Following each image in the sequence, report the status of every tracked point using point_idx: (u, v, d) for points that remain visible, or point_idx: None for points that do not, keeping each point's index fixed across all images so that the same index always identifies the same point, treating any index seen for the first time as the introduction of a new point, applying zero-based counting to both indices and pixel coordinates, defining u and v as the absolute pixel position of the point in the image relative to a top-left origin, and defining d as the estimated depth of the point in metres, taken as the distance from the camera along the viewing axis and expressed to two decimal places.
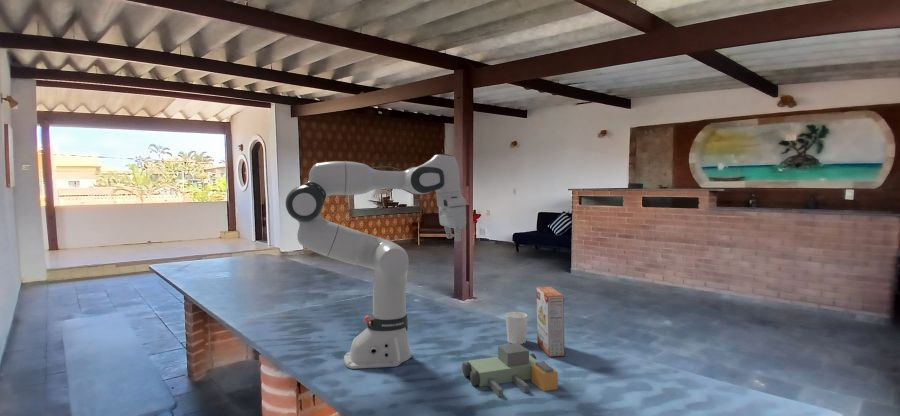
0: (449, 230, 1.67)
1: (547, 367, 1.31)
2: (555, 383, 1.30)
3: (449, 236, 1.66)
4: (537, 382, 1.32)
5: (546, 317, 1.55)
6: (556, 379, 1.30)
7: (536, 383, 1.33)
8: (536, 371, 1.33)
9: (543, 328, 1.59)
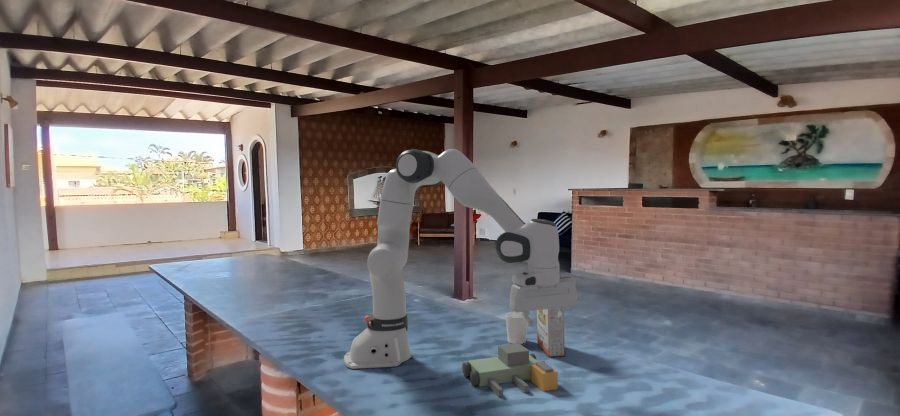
0: (561, 312, 1.34)
1: (547, 367, 1.31)
2: (555, 383, 1.30)
3: (556, 319, 1.34)
4: (537, 382, 1.32)
5: (546, 317, 1.55)
6: (556, 379, 1.30)
7: (536, 383, 1.33)
8: (536, 371, 1.33)
9: (543, 328, 1.59)
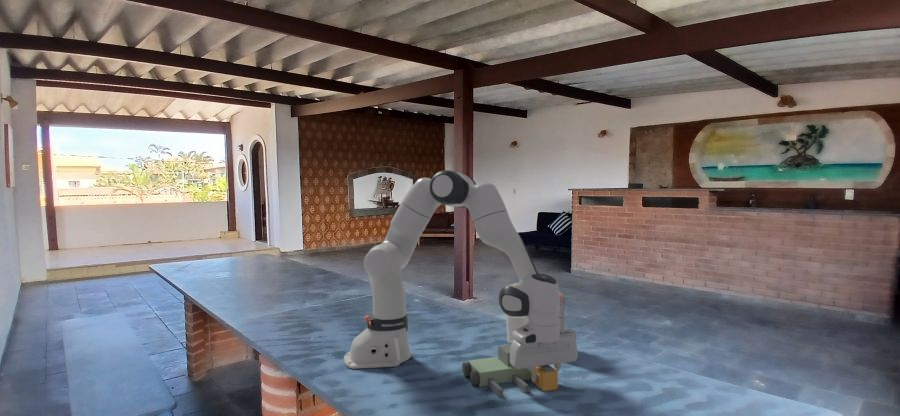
0: (556, 368, 1.33)
1: (547, 367, 1.31)
2: (555, 383, 1.30)
3: None
4: (537, 382, 1.32)
5: None
6: (556, 379, 1.30)
7: (536, 383, 1.33)
8: (536, 370, 1.33)
9: None
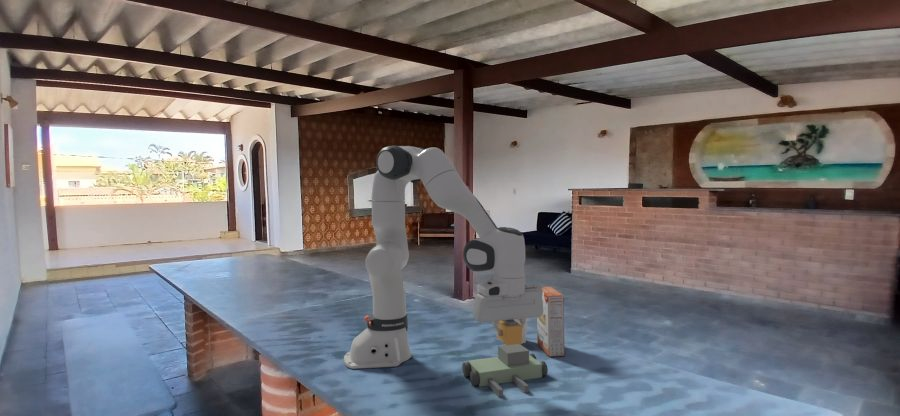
0: (521, 324, 1.30)
1: (511, 321, 1.28)
2: (519, 337, 1.27)
3: None
4: (501, 337, 1.29)
5: (546, 317, 1.55)
6: (520, 333, 1.27)
7: (500, 338, 1.30)
8: (500, 325, 1.30)
9: (543, 328, 1.59)
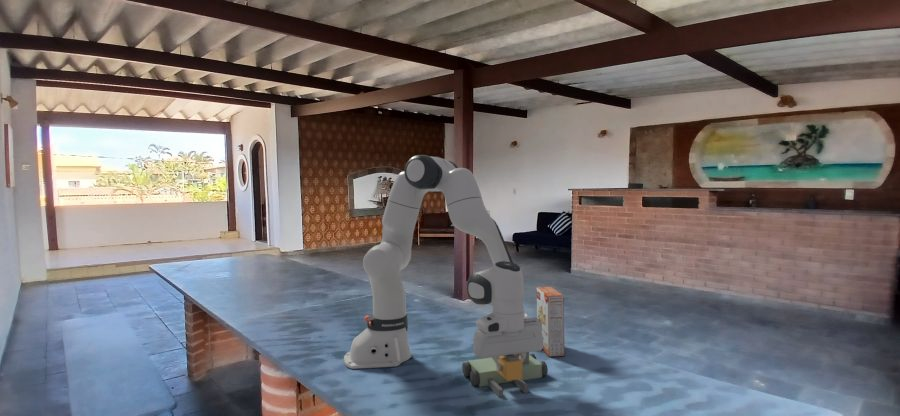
0: (521, 358, 1.31)
1: (512, 356, 1.28)
2: (519, 372, 1.27)
3: None
4: (501, 372, 1.29)
5: (546, 317, 1.55)
6: (521, 368, 1.27)
7: (501, 373, 1.30)
8: (501, 360, 1.30)
9: (543, 328, 1.59)
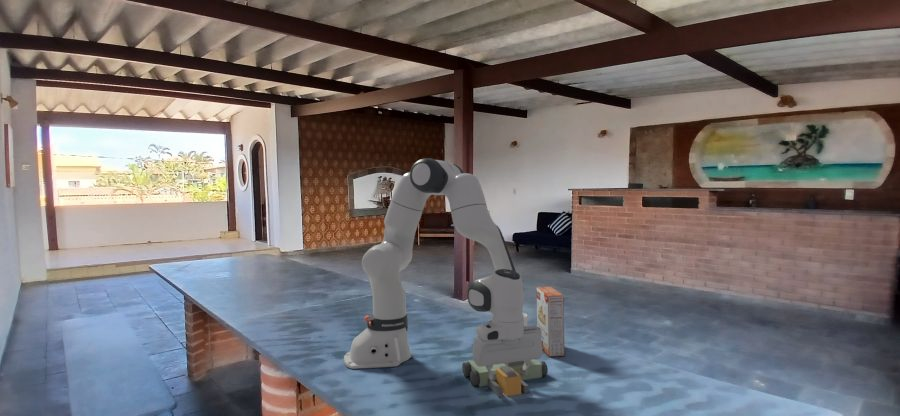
0: (526, 365, 1.31)
1: (511, 371, 1.28)
2: (518, 388, 1.27)
3: (521, 372, 1.31)
4: None
5: (546, 317, 1.55)
6: (520, 384, 1.27)
7: None
8: (500, 375, 1.30)
9: (543, 328, 1.59)
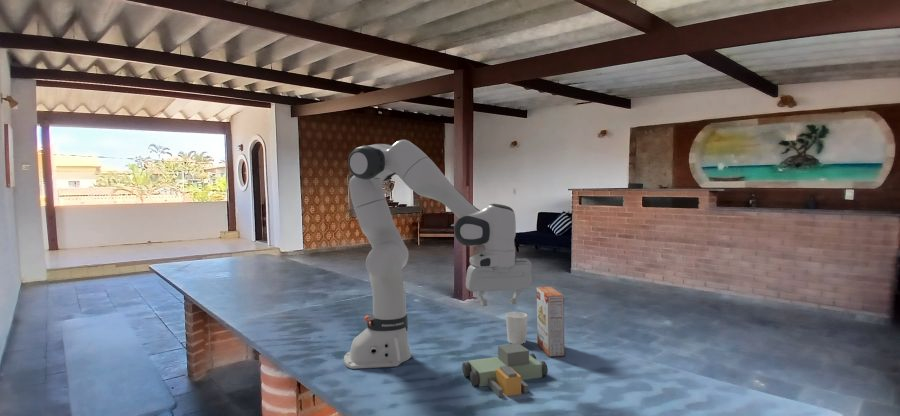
0: (515, 295, 1.39)
1: (511, 371, 1.28)
2: (518, 388, 1.27)
3: (510, 301, 1.40)
4: None
5: (546, 317, 1.55)
6: (520, 384, 1.27)
7: None
8: (500, 375, 1.30)
9: (543, 328, 1.59)
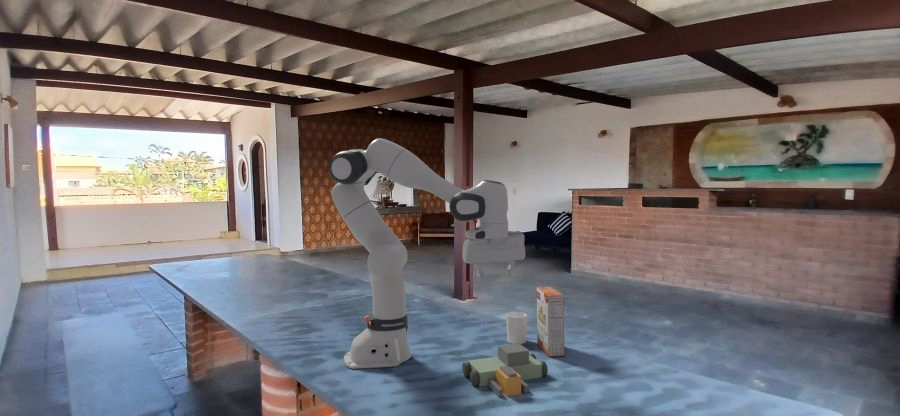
0: (510, 266, 1.47)
1: (511, 371, 1.28)
2: (518, 388, 1.27)
3: (506, 272, 1.47)
4: None
5: (546, 317, 1.55)
6: (520, 384, 1.27)
7: None
8: (500, 375, 1.30)
9: (543, 328, 1.59)
